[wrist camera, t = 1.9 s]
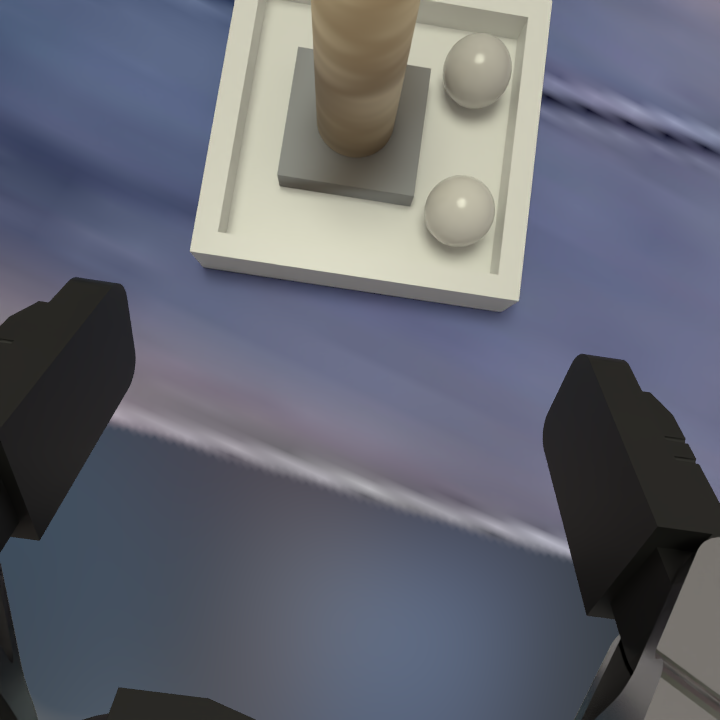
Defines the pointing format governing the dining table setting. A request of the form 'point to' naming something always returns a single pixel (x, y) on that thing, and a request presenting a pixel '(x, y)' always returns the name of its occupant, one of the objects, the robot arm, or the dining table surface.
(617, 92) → the dining table surface
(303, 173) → the ball
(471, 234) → the pebble
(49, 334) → the robot arm
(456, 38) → the cream square tray
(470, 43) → the pebble
